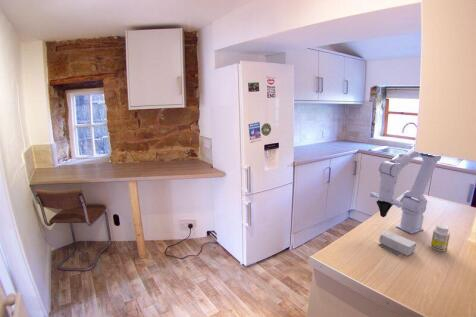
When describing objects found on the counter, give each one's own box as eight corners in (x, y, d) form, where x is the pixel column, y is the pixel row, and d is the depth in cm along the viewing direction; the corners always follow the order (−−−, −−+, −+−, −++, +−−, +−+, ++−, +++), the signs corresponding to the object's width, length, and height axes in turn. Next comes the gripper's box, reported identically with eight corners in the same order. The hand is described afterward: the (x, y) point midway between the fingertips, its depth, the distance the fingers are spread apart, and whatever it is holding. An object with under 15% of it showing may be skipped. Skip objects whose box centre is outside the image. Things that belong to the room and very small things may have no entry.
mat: (392, 240, 121) (392, 239, 121) (410, 249, 113) (410, 249, 113) (378, 244, 117) (378, 244, 117) (396, 255, 109) (396, 254, 109)
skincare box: (378, 242, 118) (407, 257, 108) (380, 233, 117) (409, 247, 107) (386, 238, 121) (414, 252, 112) (387, 229, 120) (416, 242, 110)
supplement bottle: (440, 244, 117) (444, 223, 114) (449, 251, 112) (454, 229, 109) (427, 244, 117) (431, 223, 114) (436, 251, 112) (441, 229, 109)
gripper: (366, 184, 123) (363, 211, 126) (396, 195, 110) (392, 224, 113) (377, 182, 126) (373, 208, 129) (407, 192, 113) (402, 221, 116)
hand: (383, 216), depth 121 cm, fingers closed
